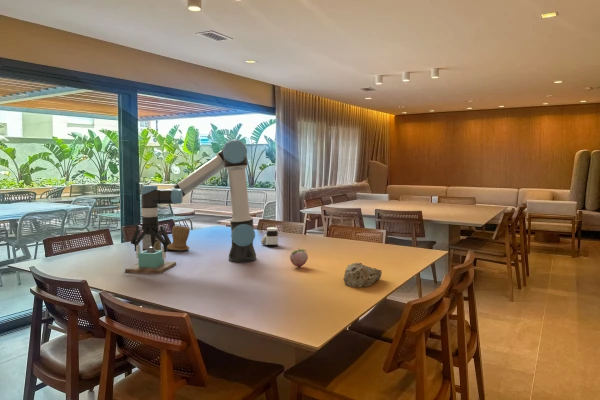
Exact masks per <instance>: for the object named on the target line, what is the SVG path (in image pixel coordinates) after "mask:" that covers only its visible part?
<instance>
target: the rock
mask: <svg viewBox="0 0 600 400" xmlns="http://www.w3.org/2000/svg"><path fill="white" fill-rule="evenodd" d="M382 273H383V272H382V269H378V268H375V267H373V268H372V267H370V266H368V265H364V264H363V263H362V262H353V263H351V264H348V265H347V267H346V268H345V271H344V277H343V280H342V281H343V282H344V284H345V285H347V287H349V288H362V287H363V286H365V287H369V286H371V285H373V284H374V283H375V282H376V281H378V280H381V277H382Z"/></svg>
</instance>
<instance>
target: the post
mask: <svg viewBox="0 0 600 400" xmlns="http://www.w3.org/2000/svg"><path fill="white" fill-rule="evenodd" d="M147 253H155V248H154V247H149V248H148V249H147Z"/></svg>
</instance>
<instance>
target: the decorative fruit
mask: <svg viewBox="0 0 600 400" xmlns="http://www.w3.org/2000/svg"><path fill="white" fill-rule="evenodd" d="M307 252H308V251H307V250H306V249H302V248H301V249H296V250H293V251H292V252H291V253H290V256H289V259H290V262H291V264H292V265H293V266H295V267H297V268H301V267H303V266H304V265H305V264H306V263H307V261H308V259H309V256H308V253H307Z"/></svg>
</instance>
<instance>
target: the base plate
mask: <svg viewBox="0 0 600 400" xmlns="http://www.w3.org/2000/svg"><path fill="white" fill-rule="evenodd" d="M176 265H177V262H176V261H164V264H162V265H160V266H159V267H157V268H146V267H139V262H138V263H136V264H134V265H131V266H129V267H127V268H125V269H124V272H125V273H134V274H135V273H138V274H139V273H140V274H163V273H164V272H165V271H168V270H169V269H171V268H172V267H173V268H174V267H175V266H176Z"/></svg>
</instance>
